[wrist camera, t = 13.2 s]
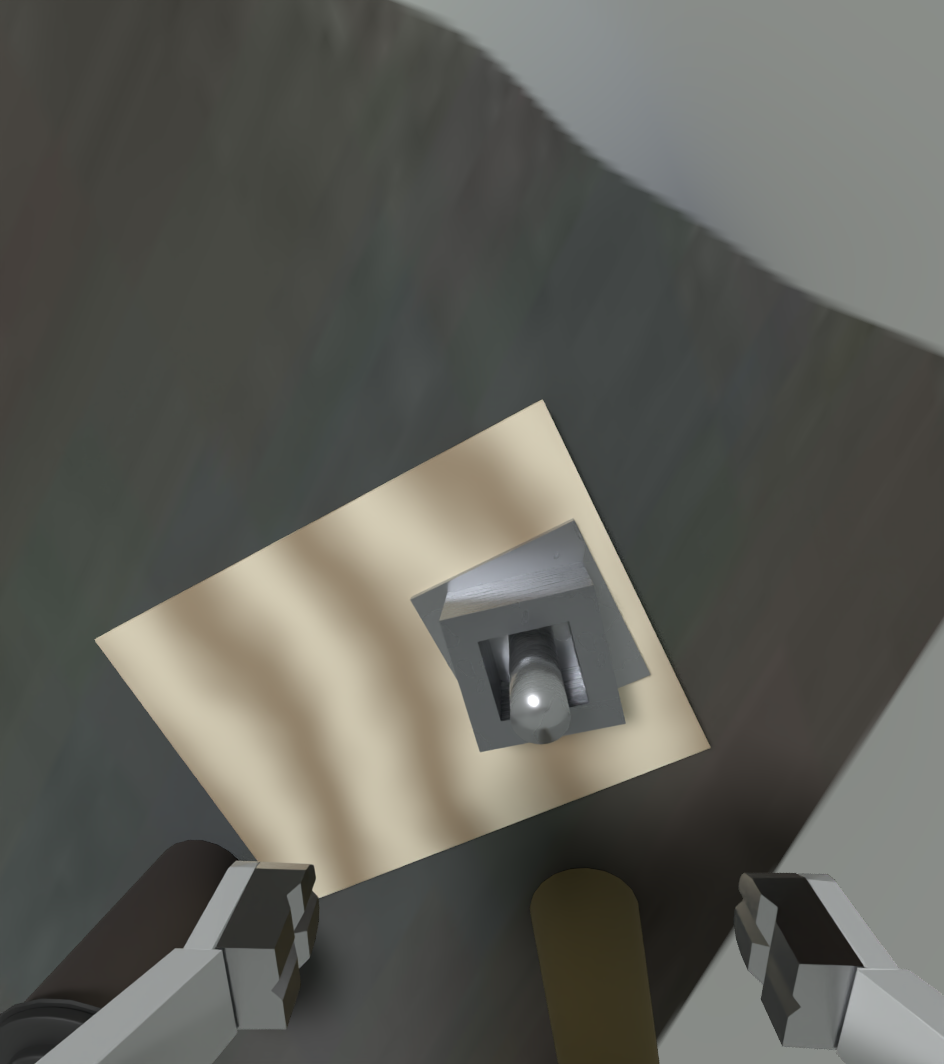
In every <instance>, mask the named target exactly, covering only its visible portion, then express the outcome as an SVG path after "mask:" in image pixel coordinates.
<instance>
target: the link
mask: <svg viewBox="0 0 944 1064" xmlns="http://www.w3.org/2000/svg"><path fill="white" fill-rule="evenodd" d="M439 622H440V625H441V629H442V632H443V635H444V638H445V641H446V645H447V648H448V651H449V654H450V658H451V661H452V664H453V667H454V671H455V674H456V677H457V680H458V683H459V687H460V690H461V693H462V696H463V700H464V703H465V706H466V709H467V713H468V716H469V719H470V722H471V725H472V729H473V732H474V735H475V738H476V742H477V745H478V748H479V751H480V752H484V751H489V750H494V749H499V748H505V747H510V746H515V745H520V744H525V743H530V742H527V741H525V740H523V739H522V738H520V737H519V736H518V735H517V734H516V733H515V731H514V730H513V728H512V725H511V721H510V683H509V680H508V681H503V682H501V680H500V676H499V673H498V669H497V666H496V662H495V659H494V655H493V652H492V648H491V645H490V641H489V639H492V638H497V637H501V636H506V635H510V634H515V633H519V632H524V631H528V630H533V629H537V628H542V627H546V626H551V625H555V624H559V623H564V622H568V625H569V629H570V633H571V637H572V641H573V645H574V649H575V653H576V657H577V662H578V666H574V667H569V668H564V669H561V673H562V677H563V682H564V686H565V691H566V696H567V700H568V705H569V710H570V715H571V721H570V726H569V728H568V730H567V732H566V733H565V734H564V735H563V736H566V735H571V734H576V733H581V732H586V731H591V730H596V729H602V728H607V727H612V726H617V725H622V724H626V722H625V718H624V713H623V709H622V704H621V700H620V696H619V691H618V687H617V683H616V678H615V674H614V670H613V665H612V661H611V657H610V652H609V648H608V644H607V639H606V635H605V631H604V626H603V622H602V618H601V613H600V609H599V605H598V600H597V596H596V592H595V587H594V584H593V582H592V580H591V578H590V576H589V574H588V572H587V570H586V568H585V566H584V564H583V562H582V561H578V562H574V563H570V564H566V565H562V566H557V567H553V568H549V569H545V570H541V571H536V572H532V573H528V574H524V575H520V576H515V577H511V578H507V579H503V580H499V581H494V582H490V583H486V584H482V585H478V586H473V587H469V588H465V589H461V590H457V591H452V592H448V593H447V596H446V599H445V603H444V606H443V609H442V613H441V616H440V619H439Z"/></svg>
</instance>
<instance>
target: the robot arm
mask: <svg viewBox="0 0 944 1064" xmlns="http://www.w3.org/2000/svg"><path fill="white" fill-rule="evenodd" d="M315 880H316V875H315V868H314V865H312V864H298V863H279V862H254V861H235V862H234V863H233V864H232V865H231V866H230V867H229V868H228V870H227V871H226V873H225V875H224V877H223V879H222V880H221V882H220V884H219V886H218V887H217V889H216V891H215V893H214V895H213V896H212V898H211V900H210V902H209V903H208V905H207V907H206V909H205V911H204V912H203V914H202V916H201V918H200V919H199V921H198V923H197V925H196V927H195V928H194V930H193V932H192V934H191V935H190V937H189V939H188V941H187V943H186V944H185V946H184V948H175V949H174V950H173V951H171V952H170V953H169V954H168V955H166V956H165V957H164V958H163V959H162V960H160V961H159V962H158V963H157V964H156V965H154V966H153V967H152V968H151V969H149V970H148V971H147V972H146V973H145V974H143V975H142V976H141V977H140V978H138V979H137V980H136V981H135V982H134V983H132V984H131V985H130V986H129V987H128V988H126V989H125V990H124V991H123V992H121V993H120V994H119V995H118V996H117V997H115V998H114V999H113V1000H112V1001H111V1002H109V1003H108V1004H107V1005H106V1006H104V1007H103V1008H102V1009H101V1010H100V1011H98V1012H97V1013H96V1014H95V1015H93V1016H92V1017H91V1018H90V1019H89V1020H87V1021H86V1022H85V1023H84V1024H83V1025H81V1026H80V1027H79V1028H78V1029H76V1030H75V1031H74V1032H73V1033H72V1034H70V1035H69V1036H68V1037H67V1038H65V1039H64V1040H63V1041H62V1042H61V1043H59V1044H58V1045H57V1046H56V1047H55V1048H53V1049H52V1050H51V1051H50V1052H48V1053H47V1054H46V1055H45V1056H44V1057H42V1058H41V1059H40V1060H39V1061H37V1062H36V1063H35V1064H212V1063H213V1062H214V1060H215V1059H216V1058H217V1057H218V1056H219V1054H220V1053H221V1052H222V1051H223V1050H224V1048H225V1047H226V1046H227V1045H228V1044H229V1042H230V1041H231V1040H232V1039H233V1038H234V1036H235V1035H236V1034H237V1029H287V1026H288V1023H289V1020H290V1017H291V1014H292V1011H293V1008H294V1005H295V1002H296V999H297V996H298V993H299V990H300V986H301V981H300V973H299V968H300V967H301V966H302V965H303V964H304V963H305V962H306V961H307V960H308V959H309V958H310V955H311V952H312V949H313V946H314V942H315V939H316V933H317V928H318V922H319V899H318V896H317V895H316V894H315V893H314V892H313V891H312V889H313V886H314V883H315ZM738 889H739V891H740V893H741V895H742V897H743V900H742V901H741V902H740V903H739V904H738V905H737V906H736V907H735V914H734V927H735V934H736V940H737V943H738V947H739V950H740V953H741V956H742V958H743V960H744V962H745V965H746V967H747V969H748V971H749V972H750V973H751V974H752V975H754V976H755V977H756V978H757V979H758V980H759V981H760V982H761V983H762V984H763V990H762V996H761V1001H762V1003H763V1005H764V1007H765V1009H766V1011H767V1013H768V1016H769V1018H770V1020H771V1022H772V1025H773V1027H774V1029H775V1031H776V1033H777V1035H778V1038H779V1040H780V1042H781V1044H782V1046H785V1047H800V1048H815V1049H829V1050H837V1052H836V1054H837V1055H838V1056H839V1057H840V1058H841V1059H842V1060H843V1061H844V1062H845V1063H846V1064H944V995H943V994H941V993H940V992H939V991H937V990H936V989H935V988H933V987H932V986H930V985H929V984H928V983H926V982H925V981H924V980H922V979H921V978H920V977H918V976H917V975H916V974H914V973H913V972H912V971H910V970H908V969H899V967H898V966H897V965H896V963H895V962H894V960H893V959H892V958H891V957H890V955H889V954H888V952H887V951H886V950H885V948H884V947H883V945H882V944H881V943H880V941H879V940H878V939H877V937H876V936H875V934H874V933H873V932H872V930H871V929H870V927H869V926H868V925H867V923H866V922H865V921H864V919H863V918H862V916H861V915H860V914H859V912H858V911H857V910H856V908H855V907H854V906H853V904H852V903H851V901H850V900H849V898H848V897H847V896H846V894H845V893H844V892H843V890H842V889H841V887H840V886H839V885H838V883H837V882H836V881H835V879H833V878H832V877H831V876H829V875H828V874H796V873H744V874H743V875H742V876H741V877H740V881H739V887H738Z"/></svg>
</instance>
